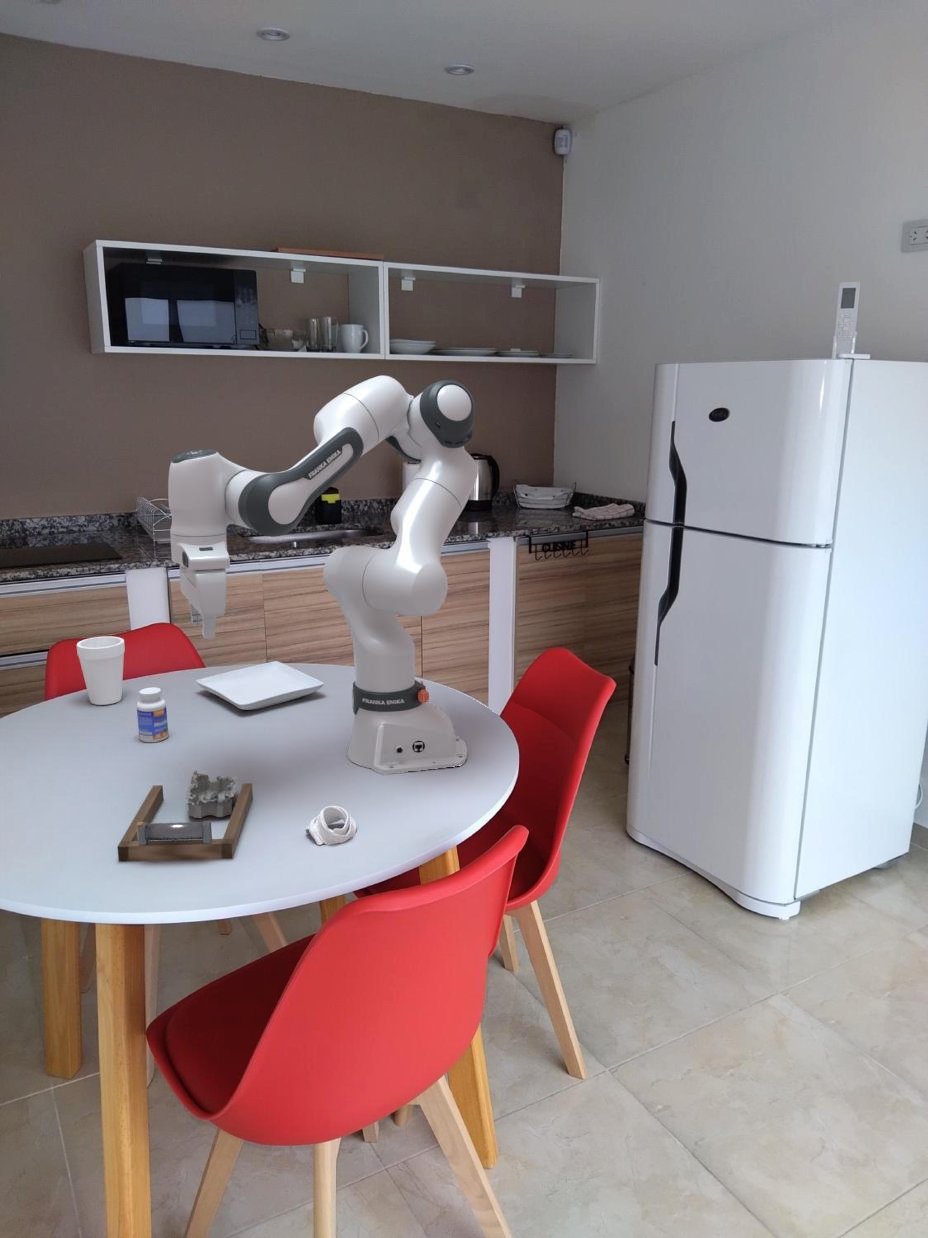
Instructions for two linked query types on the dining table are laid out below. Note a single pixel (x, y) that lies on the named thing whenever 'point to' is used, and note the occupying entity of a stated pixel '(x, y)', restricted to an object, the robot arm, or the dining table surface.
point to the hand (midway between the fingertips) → (203, 631)
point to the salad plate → (260, 685)
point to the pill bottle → (152, 715)
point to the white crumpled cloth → (328, 817)
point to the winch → (174, 831)
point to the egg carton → (210, 795)
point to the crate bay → (183, 848)
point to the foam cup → (102, 668)
